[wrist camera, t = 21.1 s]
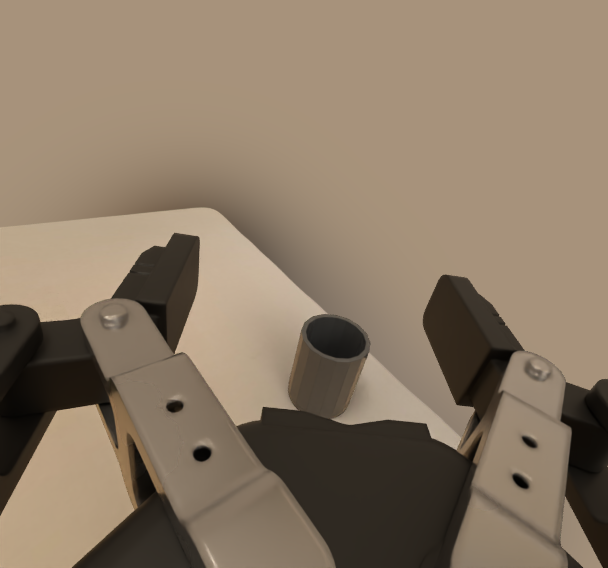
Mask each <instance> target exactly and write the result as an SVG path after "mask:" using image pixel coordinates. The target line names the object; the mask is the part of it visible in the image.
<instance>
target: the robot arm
mask: <svg viewBox="0 0 608 568" xmlns="http://www.w3.org/2000/svg"><path fill="white" fill-rule="evenodd" d="M199 248H200V240H199V237H198V236H192V235H185V234H179V233H174V234H173V235H172V237H171V239H170V241H169V242H168V244H167V246H166V247H159V246H153V247H152V248H150V249H148V250H146V251H145V252H143V253H142V254H141V255H140V257H139V258H138V260H137V261H136V262H135V265H133V267H132V268H131V270H130V273H128V274H127V276H126V277H125V279H124V280H123V282H122V283H121V285H120V286H119V288H118V289H117V291H116V292H115V293H114V295H113V296H112V298H111V299H108V300H103V301H100V302H97V303H95V304H93V305H91V306H90V307H88V308H87V309H86V310H85V311H84V312H83V314H82V316H81V318H78V319H73V320H63V321H51V322H40V319H39V316H38V314H37V312H36V311H35V310H33V309H32V308H29V307H26V306H22V305H1V306H0V515H1V513H2V511H3V509H4V508H5V506H6V504H7V502H8V500H9V498H10V497H11V495H12V493H13V491H14V489H15V487H16V485H17V484H18V482H19V480H20V478H21V476H22V474H23V472H24V471H25V469H26V467H27V465H28V463H29V461H30V459H31V458H32V456H33V454H34V452H35V450H36V448H37V446H38V445H39V443H40V441H41V439H42V437H43V435H44V433H45V432H46V430H47V428H48V426H49V424H50V422H51V420H52V419H53V417H54V415H55V413H56V411H57V410H63V409H70V408H76V407H82V406H88V405H94V404H95V405H96V407H97V410H98V412H99V415H100V417H101V420H102V422H103V425H104V427H105V429H106V432H107V434H108V437H109V439H110V442H111V444H112V447H113V449H114V452H115V454H116V457H117V459H118V462H119V465H120V468H121V472H122V476H123V479H124V483H125V486H126V489H127V492H128V495H129V498H130V500H131V503H132V505H133V508H134V510H135V511H134V512H132V513H131V514H130V515H129V516H128V517H127V518H126V519H125V520H124V521H123V522H121V523H120V524H119V525H118V526H117V527H116V528H115V529H114V530H113V531H111V532H110V533H109V534H108V535H107V536H106V537H105V538H104V539H103V540H102V541H100V542H99V543H98V544H97V545H96V546H95V547H94V548H93V549H92V550H91V551H89V552H88V553H87V554H86V555H85V556H84V557H83V558H82V559H81V560H80V561H78V562H77V563H76V564H75V565H74V566H73V567H72V568H583V567H582V566H581V565H580V564H579V563H578V562H577V561H576V560H574V559H573V558H572V557H571V556H570V555H569V554H568V553H567V552H566V551H565V550H564V549H563V548H562V547H561V544H560V538H561V537H560V536H561V528H562V519H563V508H564V500H565V497H566V498H567V500H568V502H569V504H570V506H571V508H572V510H573V512H574V513H575V516H576V518H577V519H578V521H579V523H580V525H581V527H582V529H583V531H584V533H585V535H586V536H587V538H588V540H589V542H590V544H591V546H592V548H593V550H594V552H595V554H596V556H597V557H598V559H599V561H600V563H601V565H602V567H603V568H608V467H607V466H608V379H602V380H599V381H598V382H597V383H596V384H595V386H594V387H593V388H592V389H591V390H587V389H584V388H581V387H578V386H575V385H573V384H570V383H567V382H566V380H565V377H564V375H563V374H562V372H561V371H560V370H559V369H558V368H557V367H556V366H555V365H554V364H553V363H551V362H550V361H548V360H547V359H545V358H543V357H541V356H539V355H537V354H534V353H532V352H528V351H524V349H523V348H522V346H521V345H520V343H519V342H518V341H517V339H516V338H515V337H514V335H513V334H512V332H511V331H510V329H509V328H508V327H507V326H505V322H504V321H503V320H502V318H501V317H499V314H498V313H497V311H496V310H495V308H494V307H493V305H492V304H490V303H489V302H488V301H487V300H486V299H485V298H483V297H482V296H481V295H479V294H478V293H477V291H476V290H475V288H474V287H473V285H472V284H471V283H470V281H469V280H468V279H467V278H464V277H458V276H451V275H443V276H441V277H440V279H439V280H438V283H437V285H436V287H435V289H434V292H433V294H432V296H431V298H430V300H429V303H428V305H427V307H426V309H425V312H424V315H423V327H424V330H425V332H426V335H427V337H428V339H429V342H430V344H431V346H432V349H433V351H434V353H435V356H436V358H437V360H438V363H439V365H440V367H441V370H442V372H443V374H444V376H445V379H446V381H447V383H448V386H449V388H450V391H451V393H452V395H453V398H454V400H455V402H456V404H457V405H460V406H470V407H474V409H475V412H474V413H473V415H472V416H471V418H470V420H469V422H468V424H467V427H466V429H465V431H464V434H463V436H462V438H461V441H460V443H459V445H458V448H457V450H455V449H453V448H451V447H450V446H448V445H446V444H444V443H442V442H440V441H437V440H435V439H432V438H431V436H430V433H429V430H428V427H427V424H424V423H414V422H404V421H395V420H383V421H376V422H369V423H362V424H355V425H346V424H342V423H339V422H336V421H333V420H330V419H327V418H324V417H321V416H318V415H315V414H312V413H308V412H305V411H297V410H288V409H278V408H268V407H263V409H262V414H261V420H259V421H252V422H248V423H244V424H241V425H239V426H236V425H235V424H234V423H233V421H232V420H231V418H230V417H229V415H228V414H227V412H226V411H225V409H224V408H223V406H222V405H221V403H220V402H219V400H218V399H217V397H216V396H215V395H214V393H213V392H212V390H211V389H210V387H209V386H208V384H207V383H206V381H205V380H204V378H203V377H202V375H201V374H200V372H199V371H198V369H197V368H196V366H195V365H194V364H193V362H192V361H191V359H190V358H189V356H188V355H187V354H185V353H183V352H182V353H179V354H176V355H174V353H175V350H176V348H177V345H178V342H179V339H180V337H181V334H182V331H183V329H184V326H185V323H186V321H187V318H188V315H189V312H190V310H191V307H192V304H193V302H194V299H195V296H196V292H197V286H198V274H199Z"/></svg>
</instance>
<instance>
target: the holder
mask: <svg viewBox="0 0 608 568" xmlns="http://www.w3.org/2000/svg"><path fill="white" fill-rule="evenodd" d="M369 349H370V341H369V338H368V335H367V333H366V332H365V331H364V330H363V329H362V328H361V327H360V326H359V325H358V324H356V323H354V322H353V321H351V320H349V319H347V318H344V317H340V316H337V315H329V314H322V315H317V316H313V317H311V318H310V319H309V320H307V321H306V322H305V323H304V325H303V327H302V330H301V333H300V338H299V342H298V346H297V350H296V354H295V358H294V363H293V367H292V371H291V375H290V379H289V385H288V393H289V397H290V399H291V401H292V403H293V404H294V405H295V407H296V408H297V409H299V410H300V411H305V412H308V413H312V414H315V415H318V416H321V417H324V418H327V419H330V418H334V417H337V416H339V415H340V414H342V413H343V412H344V411H345V410H346V408H347V406H348V405H349V403H350V400H351V398H352V395H353V392H354V390H355V387H356V384H357V382H358V379H359V377H360V374H361V371H362V369H363V366H364V364H365V361H366V358H367V356H368V353H369Z"/></svg>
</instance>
